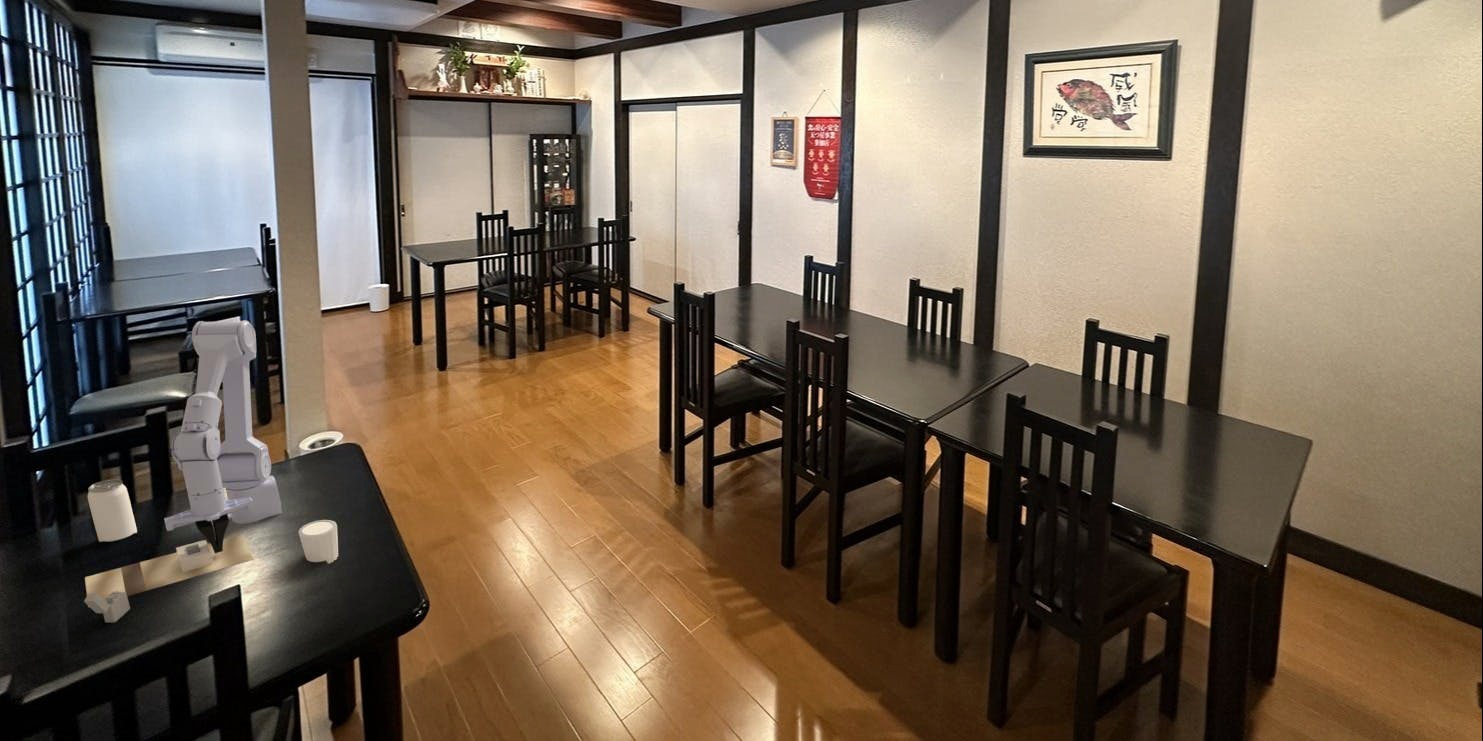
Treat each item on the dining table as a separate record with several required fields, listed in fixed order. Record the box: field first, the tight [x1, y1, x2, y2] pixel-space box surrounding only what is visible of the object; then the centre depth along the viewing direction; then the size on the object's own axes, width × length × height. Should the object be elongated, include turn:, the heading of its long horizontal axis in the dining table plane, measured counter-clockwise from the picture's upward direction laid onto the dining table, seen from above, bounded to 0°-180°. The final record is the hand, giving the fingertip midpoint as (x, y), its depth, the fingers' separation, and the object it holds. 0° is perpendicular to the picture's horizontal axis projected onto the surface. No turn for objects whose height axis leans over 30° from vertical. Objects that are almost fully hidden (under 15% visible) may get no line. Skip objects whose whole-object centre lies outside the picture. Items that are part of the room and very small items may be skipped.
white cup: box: [298, 519, 339, 565], centre depth 162 cm, size 7×7×7 cm
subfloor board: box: [84, 534, 255, 608], centre depth 157 cm, size 26×12×1 cm, turn 130°
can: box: [87, 479, 138, 543], centre depth 167 cm, size 6×6×12 cm
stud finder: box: [175, 539, 213, 572], centre depth 159 cm, size 5×6×3 cm
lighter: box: [83, 591, 131, 623], centre depth 140 cm, size 7×2×8 cm, turn 3°
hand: (218, 550), depth 161 cm, fingers closed
